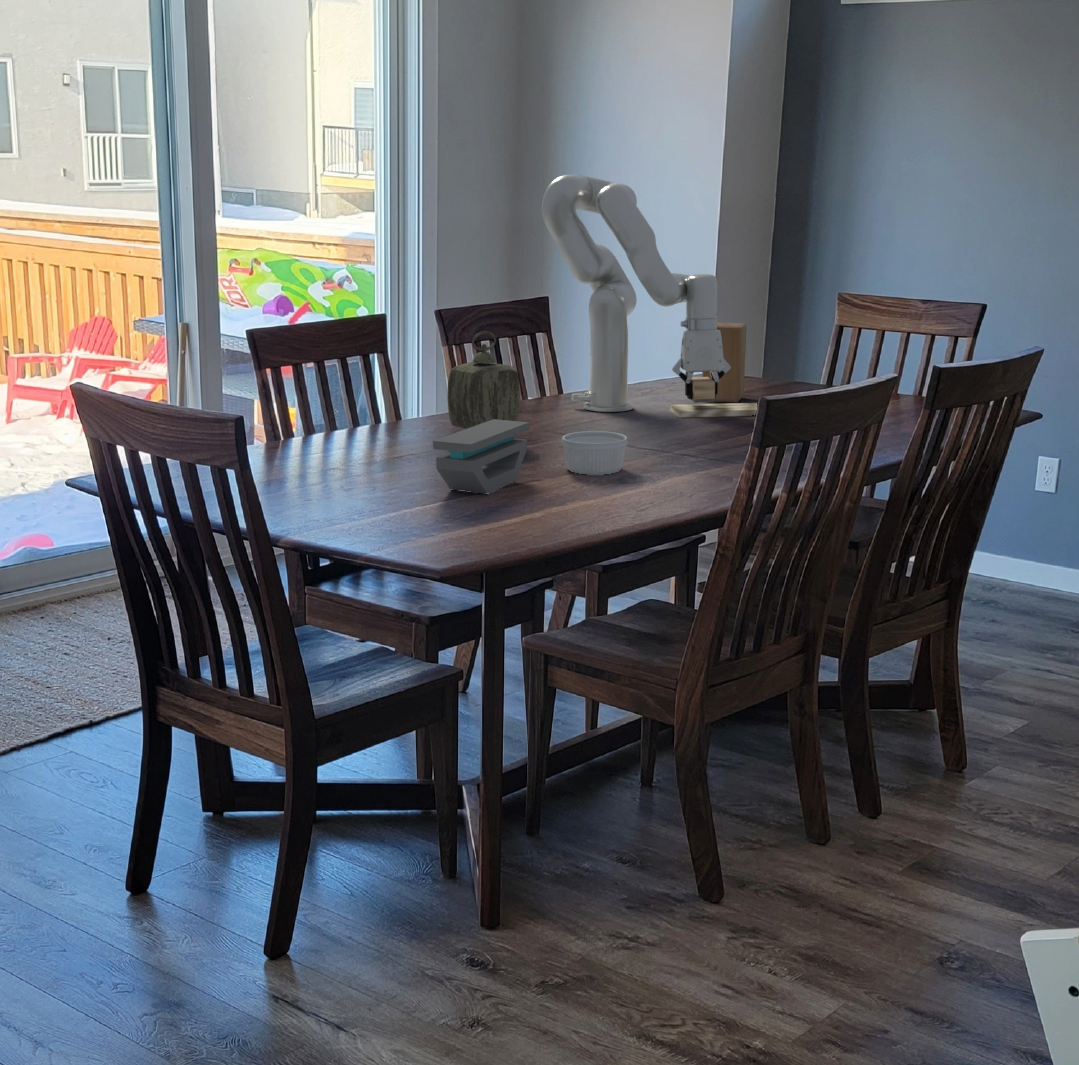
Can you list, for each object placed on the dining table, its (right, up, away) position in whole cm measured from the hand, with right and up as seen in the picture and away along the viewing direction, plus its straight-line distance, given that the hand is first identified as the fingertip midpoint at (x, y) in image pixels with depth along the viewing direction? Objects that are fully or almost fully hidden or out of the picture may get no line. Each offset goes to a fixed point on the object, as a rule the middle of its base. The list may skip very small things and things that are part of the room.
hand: (701, 397), depth 342 cm
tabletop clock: (-53, -14, -37) cm, 66 cm away
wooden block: (+8, +1, +22) cm, 24 cm away
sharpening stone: (-51, -25, -78) cm, 97 cm away
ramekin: (-29, -21, -63) cm, 73 cm away
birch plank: (+5, -4, +2) cm, 7 cm away
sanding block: (0, -1, 0) cm, 1 cm away
